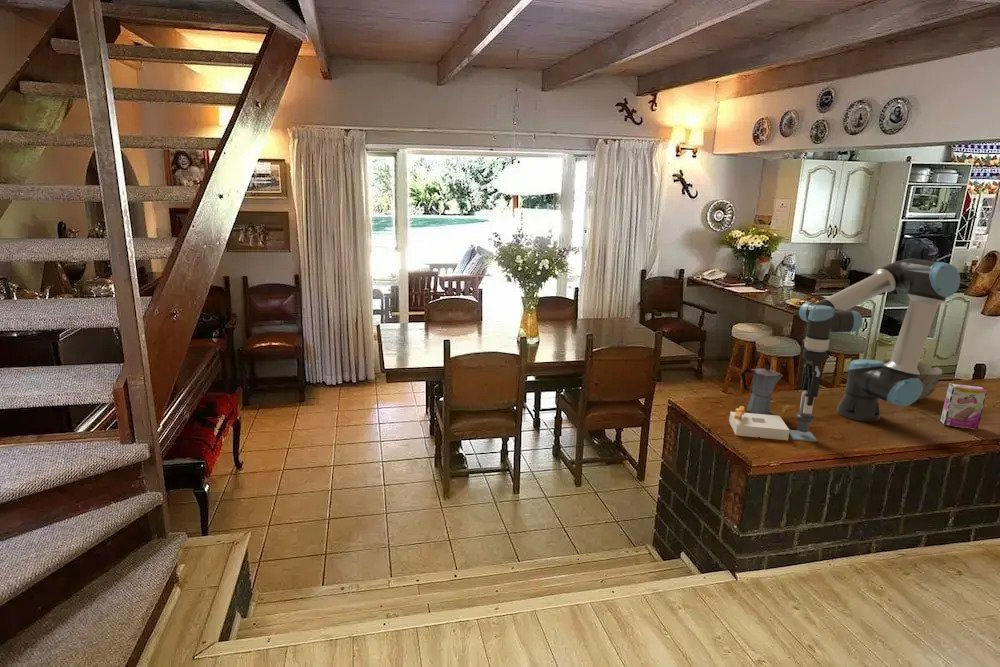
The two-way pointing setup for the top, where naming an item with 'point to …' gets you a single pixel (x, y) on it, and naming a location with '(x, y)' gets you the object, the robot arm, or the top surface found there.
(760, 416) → the socket board
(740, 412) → the orange bar with knob
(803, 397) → the plug
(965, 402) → the candy bar box
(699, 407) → the top surface
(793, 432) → the pad
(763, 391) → the moka pot
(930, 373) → the bowl
